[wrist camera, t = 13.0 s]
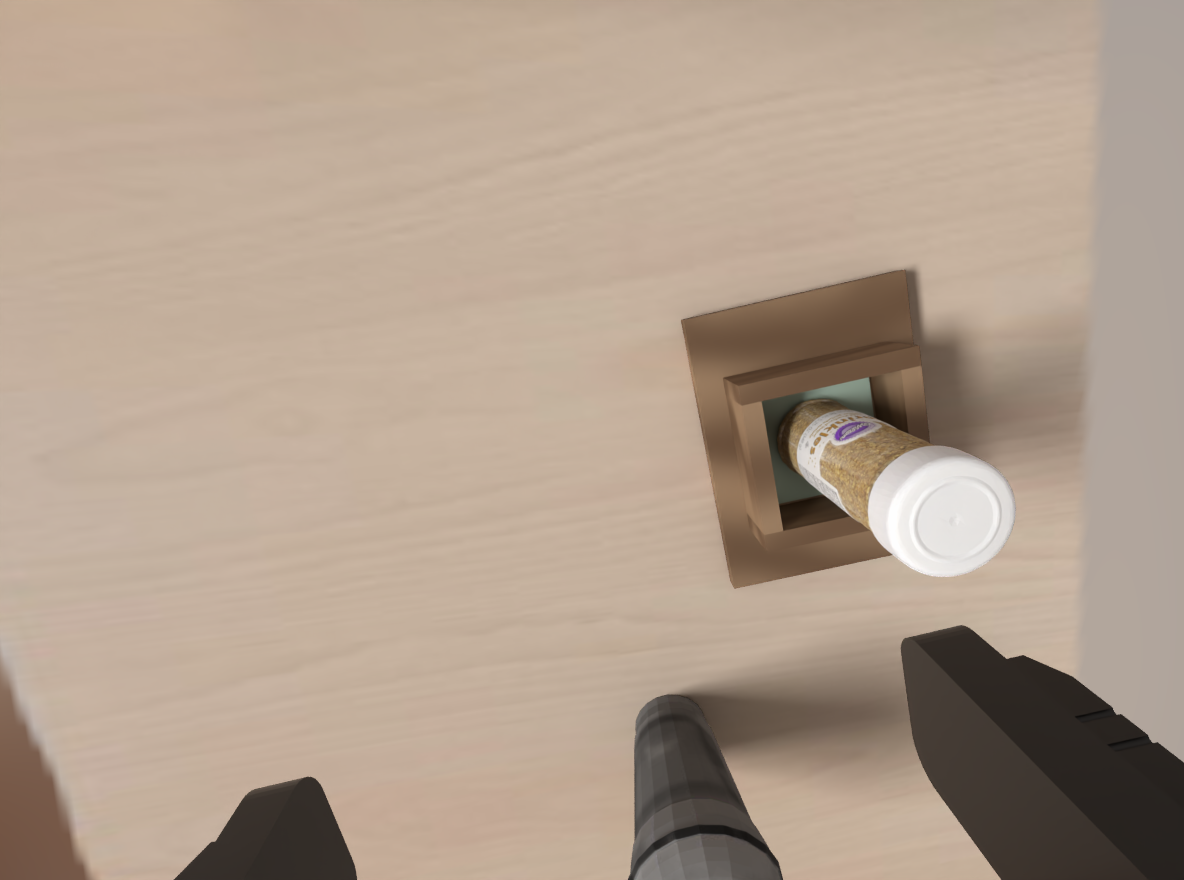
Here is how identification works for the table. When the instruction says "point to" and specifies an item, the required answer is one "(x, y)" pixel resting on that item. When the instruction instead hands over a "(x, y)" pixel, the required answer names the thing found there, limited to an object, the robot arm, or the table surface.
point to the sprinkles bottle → (901, 487)
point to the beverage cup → (690, 803)
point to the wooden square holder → (773, 388)
